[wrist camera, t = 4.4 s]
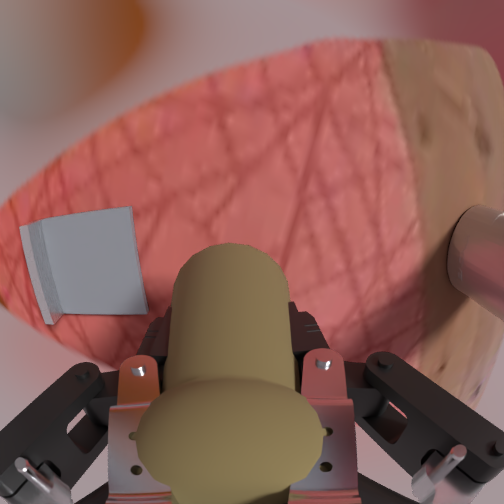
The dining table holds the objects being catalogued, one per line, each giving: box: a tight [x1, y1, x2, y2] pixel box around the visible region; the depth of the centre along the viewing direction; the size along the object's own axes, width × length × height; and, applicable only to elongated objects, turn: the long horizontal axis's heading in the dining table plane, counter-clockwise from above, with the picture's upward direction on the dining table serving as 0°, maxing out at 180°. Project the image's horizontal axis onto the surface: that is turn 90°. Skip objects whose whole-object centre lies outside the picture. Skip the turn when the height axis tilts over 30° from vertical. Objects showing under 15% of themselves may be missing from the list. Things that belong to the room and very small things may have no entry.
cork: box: [131, 243, 331, 504], centre depth 9 cm, size 6×6×11 cm
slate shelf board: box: [42, 206, 149, 314], centre depth 18 cm, size 8×8×1 cm
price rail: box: [19, 219, 64, 325], centre depth 17 cm, size 1×8×2 cm, turn 3°
